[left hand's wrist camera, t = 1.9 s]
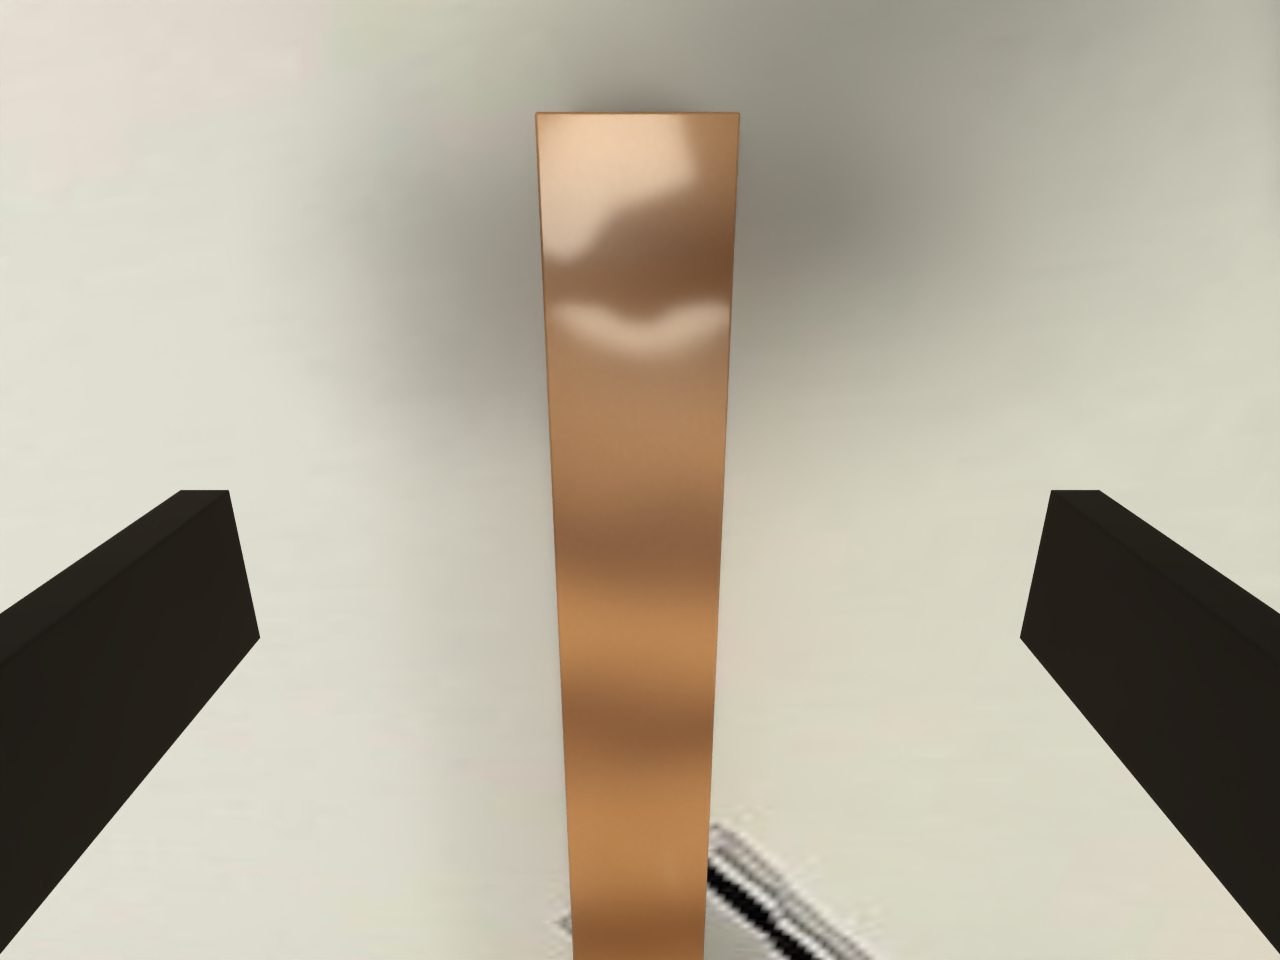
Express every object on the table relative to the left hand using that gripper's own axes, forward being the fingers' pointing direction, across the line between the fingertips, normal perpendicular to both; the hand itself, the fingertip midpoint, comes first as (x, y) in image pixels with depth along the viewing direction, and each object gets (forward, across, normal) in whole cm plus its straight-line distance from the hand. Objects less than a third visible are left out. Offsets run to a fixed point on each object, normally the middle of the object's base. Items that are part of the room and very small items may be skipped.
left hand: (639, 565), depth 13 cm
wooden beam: (+21, 0, -24) cm, 32 cm away
